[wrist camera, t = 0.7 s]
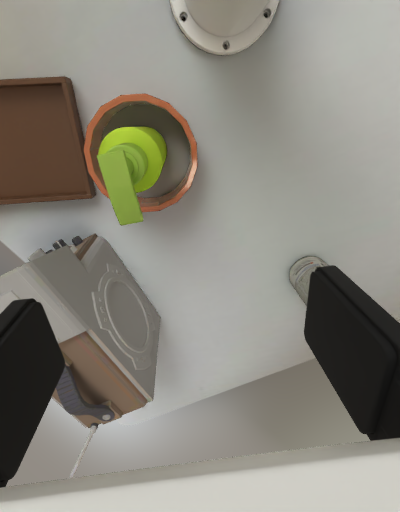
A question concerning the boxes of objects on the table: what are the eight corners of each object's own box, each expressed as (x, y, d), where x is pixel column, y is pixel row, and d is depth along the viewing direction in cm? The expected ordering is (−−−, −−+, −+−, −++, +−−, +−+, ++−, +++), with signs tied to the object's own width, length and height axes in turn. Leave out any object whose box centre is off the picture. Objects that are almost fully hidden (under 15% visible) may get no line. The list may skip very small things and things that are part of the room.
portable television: (86, 207, 40) (-101, 377, 13) (165, 321, 50) (151, 549, 23) (19, 242, 42) (-270, 458, 15) (109, 345, 52) (34, 587, 25)
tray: (-85, 86, 32) (-100, 84, 31) (70, 79, 33) (64, 76, 32) (-34, 203, 39) (-45, 207, 37) (96, 195, 39) (92, 198, 38)
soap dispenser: (132, 183, 39) (93, 232, 21) (117, 131, 36) (58, 136, 18) (172, 175, 39) (168, 218, 21) (161, 122, 36) (144, 119, 18)
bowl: (85, 101, 34) (71, 97, 30) (191, 95, 35) (193, 91, 30) (106, 205, 40) (97, 215, 36) (197, 198, 41) (199, 208, 36)
